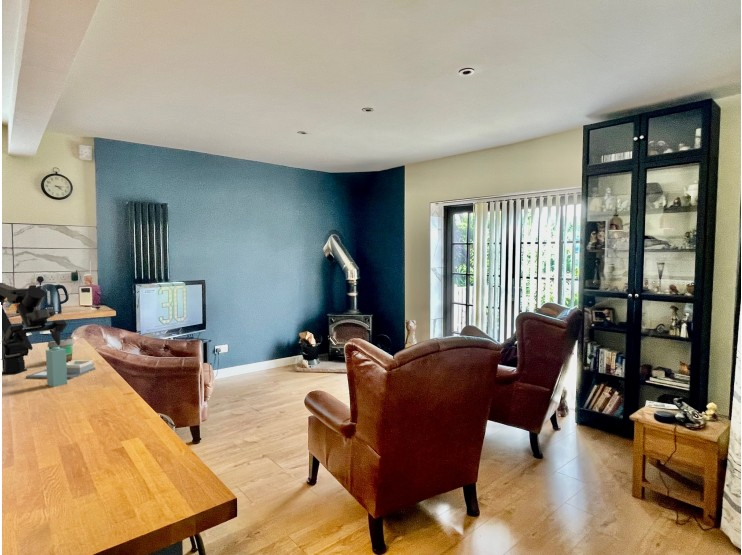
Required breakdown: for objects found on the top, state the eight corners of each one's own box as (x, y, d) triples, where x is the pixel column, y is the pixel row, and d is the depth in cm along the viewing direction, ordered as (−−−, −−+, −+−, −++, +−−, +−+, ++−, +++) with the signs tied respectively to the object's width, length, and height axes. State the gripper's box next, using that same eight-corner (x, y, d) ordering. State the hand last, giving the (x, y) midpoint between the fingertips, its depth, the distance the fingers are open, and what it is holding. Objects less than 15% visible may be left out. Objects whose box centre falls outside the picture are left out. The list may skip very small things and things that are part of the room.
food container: (62, 365, 190) (61, 342, 189) (48, 365, 190) (47, 342, 189) (81, 358, 202) (80, 336, 202) (68, 358, 202) (67, 336, 202)
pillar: (47, 385, 161) (45, 348, 161) (60, 382, 165) (59, 345, 164) (53, 387, 159) (52, 349, 158) (67, 383, 163) (65, 347, 162)
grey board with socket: (25, 378, 170) (25, 368, 170) (53, 368, 184) (53, 359, 184) (71, 378, 169) (70, 368, 169) (95, 369, 183) (94, 359, 183)
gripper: (7, 304, 159) (24, 338, 154) (64, 299, 175) (80, 329, 171) (-2, 323, 163) (13, 356, 159) (54, 316, 180) (69, 347, 175)
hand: (45, 346), depth 166 cm, fingers open, 9 cm apart
